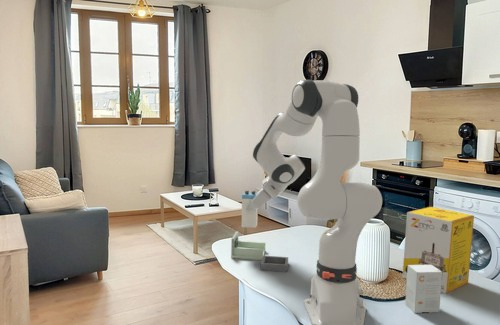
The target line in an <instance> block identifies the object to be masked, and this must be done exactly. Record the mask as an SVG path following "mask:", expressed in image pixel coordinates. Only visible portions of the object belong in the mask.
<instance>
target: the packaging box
mask: <svg viewBox="0 0 500 325" xmlns="http://www.w3.org/2000/svg"><path fill="white" fill-rule="evenodd" d="M474 221H475V215H473V214H469V213H463V212H458V211H455V210H454V211H453V210H450V209H449V210H448V209H445V208H439V207H436V206H435V207H434V206H427V207H423V208H420V209H414V210H411V211H407V212H406V222H405V224H406V225H405V237H404V239H405V240H404V253H403V266H402V268H403V269H402V279H404V278H406V279H405V280H407V269H408V265H433V266H434V267H436V268H437V269H439V270H440V271H442V281H441V294H445V293H446V294H448V293H450V292H452V291H455V290H456V289H458V288H460V287H463V286H464V285H467V284H468V283H469V276H470V267H471V265H470V264H471V253H472V242H473V232H474Z"/></svg>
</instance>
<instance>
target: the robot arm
mask: <svg viewBox="0 0 500 325" xmlns="http://www.w3.org/2000/svg"><path fill="white" fill-rule="evenodd" d="M358 104H359V93H358V91H357V89H356V88H355V87H354V86H353V85H350V84H347V83H341V82H340V83H338V82H334V81H329V80H323V79H322V80H319V79H318V80H312V79H304V80H300V81H298V82H297V83H296V84H295V86H294V87H293V90H292V93H291V99H290V101H289V103H288V105H287V106H286V109H285V111H283V112H280V113H278V114H277V115H276V117H274V119H273V120H272V122H271V123H269V124H270V125H269V127H268V128H267V130H266V131H265V132H264V135H263V136H262V138H261V139H260V140H259V142H258V143H256V145H255V147H254V148H253V152H252V157H253V159H254V160H255V161H256V162H257V163H258V165H260V167H261V168H262V169H263V171H264V172H265V173H266V174H267V176H266V177H265V178H264V179H263V180H262V182H261V183H262V185H261V188H260V190H259V191H258V192H256V193H258V194H257V196H256V197H254V199H253V200H252V202H251V204H250V205H249V206H248V207H247V208H246V210H247V211H248V212H249V211H251V210H252V209H253V208H256V209H258V210H259V208H261V207H262V206H264V205H265V204H266V203H268V202H269V201H270V200H271V199H275V198H278V197H279V195H281V194H282V193H283V192H284V191H286V189H287V188H288V186H290V185H291V184H293V183H294V182H295V181H296V180H298V178H299V177H300V176H301V175H302V174H303V172H305V170H306V166H305V163H304V162H303V161H302V160H301V159H300V157H299V156H298V155H297V154H292V155H290V156H289V157H286V156H284V154H283V153H282V152H281V151H280V149H279V148H278V146H277V142H278V140H279V139H280V137H281V135H282V133H284V134H286V135H288V136H291V137H302V136H305V135H308V134H309V132H311V130H312V128H314V125H315V123H316V121H317V119H318V116H319V118H320V119H321V122H322V128H321V129H322V130H321V131H322V132H321V137H322V138H321V155H320V161H319V165H318V168H317V170H316V172H315V174H314V176H313V177H312V178H310V180H309V181H308V182H307V183H305V184H304V185H303V186H302V187H301V188H300V189H299V192H298V195H297V200H296V201H297V207H298V209H299V211H300V213H301V214H302V215H303V216H304V217H306V218H310V219H311V218H312V219H316V220H337V221H336V222H335V224H334V225H333V226H332V227H331V228H329V229H327V230H325V231H324V232H323V233H322V234H321V236H320V238H319V244H318V246H319V247H318V260H316V274H315V275H313V277H311V283H310V295H309V297H310V298H306V299H304V301H303V305H304V307H305V310H306V313H307V315H308V317H309V320H310V322H311V325H365V321H366V320H365V319H366V312H367V311H366V310H367V308H366V307H367V306H366V305H365V304H364V299H363V298H361V297H360V295H362V294H363V290H362V289H361V287H360V286H361V284H360V283H361V282H360V280H359V279H358V278H357V272H358V271H357V270H358V268H357V263H356V258H357V247H358V241H359V238H360V235H361V233H362V231H363V229H364V228H365V226H366V225H367V223H369V221H370V220H371V219H374V218H375V217H376V216H377V215H378V214H379V212H380V211H381V209H382V205H383V196H382V193H381V191H380V190H379V188H378V187H377V186H376V185H373V184H369V183H364V182H341V180H342V177H343V175H344V174H345V173H346V172H348V171H350V170H352V169H353V168H355V167H356V166H357V165H358V163H359V161H360V140H361V139H360V138H361V137H360V135H361V134H360V133H361V132H360V119H359V113H358V109H357V108H358Z"/></svg>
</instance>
